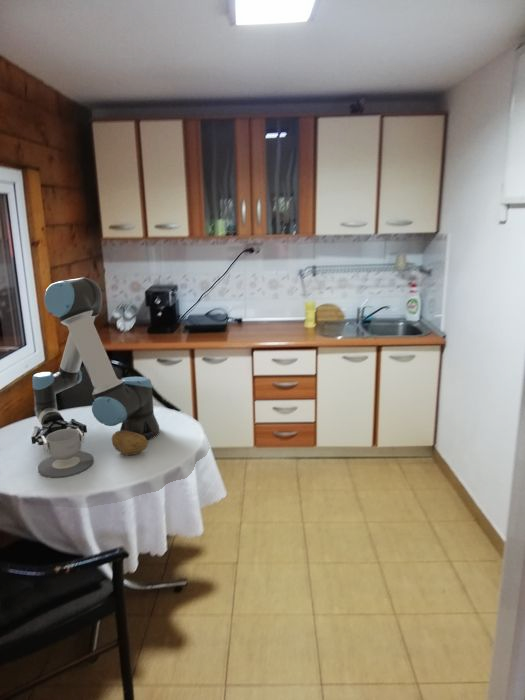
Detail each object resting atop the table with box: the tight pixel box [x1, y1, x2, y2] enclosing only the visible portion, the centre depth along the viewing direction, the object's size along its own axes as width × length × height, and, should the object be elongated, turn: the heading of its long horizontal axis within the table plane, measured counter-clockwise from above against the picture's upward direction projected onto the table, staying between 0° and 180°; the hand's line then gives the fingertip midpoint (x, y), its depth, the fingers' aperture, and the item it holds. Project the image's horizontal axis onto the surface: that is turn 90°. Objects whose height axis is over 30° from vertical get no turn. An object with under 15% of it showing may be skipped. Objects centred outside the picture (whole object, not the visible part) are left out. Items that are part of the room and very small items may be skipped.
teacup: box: [46, 427, 82, 460], centre depth 170 cm, size 14×11×8 cm
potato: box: [111, 430, 148, 456], centre depth 178 cm, size 10×14×8 cm
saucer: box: [37, 450, 95, 479], centre depth 171 cm, size 18×18×1 cm
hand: (64, 442), depth 166 cm, fingers closed on teacup, 11 cm apart
